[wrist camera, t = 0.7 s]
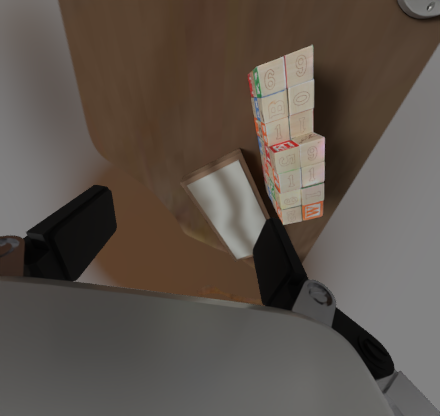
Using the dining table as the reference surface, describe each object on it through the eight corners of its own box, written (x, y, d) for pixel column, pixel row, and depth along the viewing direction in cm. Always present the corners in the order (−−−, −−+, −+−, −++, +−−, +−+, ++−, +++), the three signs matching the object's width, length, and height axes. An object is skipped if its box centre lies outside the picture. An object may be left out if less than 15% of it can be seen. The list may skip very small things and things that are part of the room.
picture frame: (239, 148, 32) (241, 152, 30) (278, 237, 45) (282, 247, 42) (183, 177, 36) (179, 183, 33) (234, 253, 48) (235, 262, 46)
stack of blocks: (246, 74, 27) (262, 59, 16) (286, 59, 26) (331, 33, 15) (265, 191, 38) (282, 226, 27) (294, 183, 37) (323, 217, 26)
